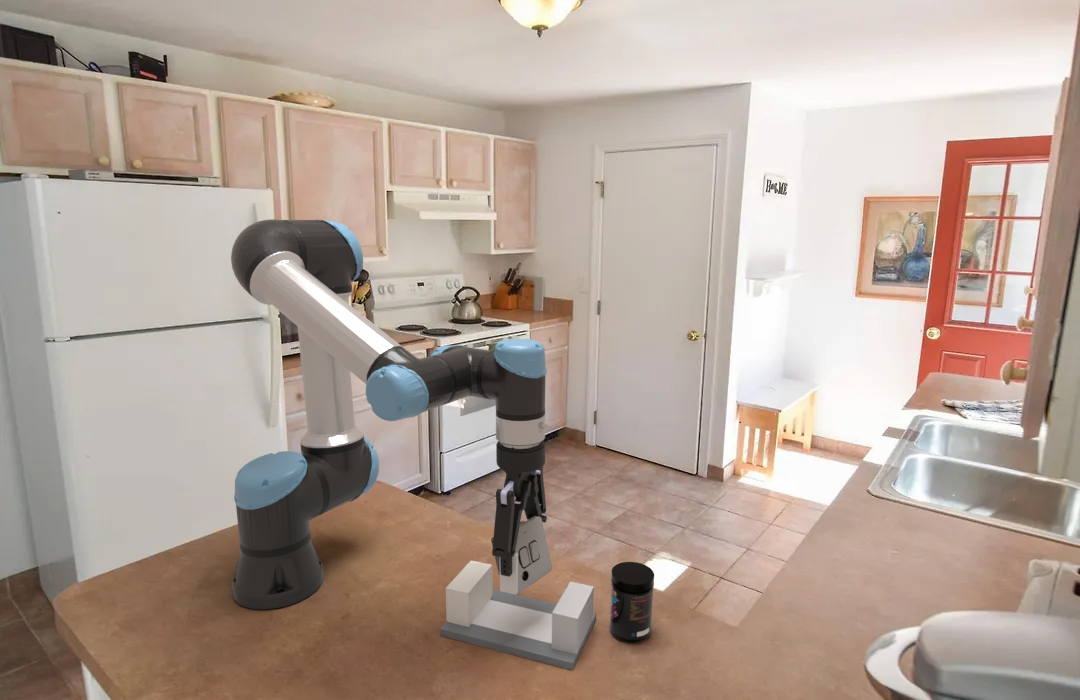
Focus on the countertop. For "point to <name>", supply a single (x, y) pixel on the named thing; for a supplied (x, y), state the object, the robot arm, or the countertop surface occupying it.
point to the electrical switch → (531, 553)
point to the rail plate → (518, 618)
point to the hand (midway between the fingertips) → (521, 574)
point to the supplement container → (631, 601)
